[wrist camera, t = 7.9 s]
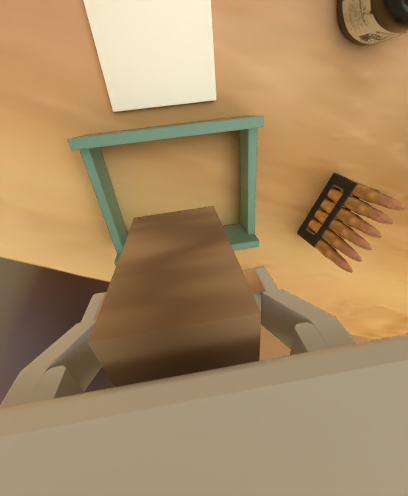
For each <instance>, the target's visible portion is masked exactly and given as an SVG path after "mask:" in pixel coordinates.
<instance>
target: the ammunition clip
mask: <svg viewBox="0 0 408 496" xmlns="http://www.w3.org/2000/svg"><path fill="white" fill-rule="evenodd" d="M341 190H342V191H344V192H342V191H341ZM350 194H351V195H353V196H351V195H350ZM359 198H360V199H363V200H365V201H367V202H371V203H375V204H378V205H381V206H383V207H386V208H390V209H395V210H404V209H405V207H404V206H403V205H402V204H401V203H400V202H398V201H397V200H395V199H393V198H391V197H389V196H387V195H385V194H383V193H381V192H380V191H378V190H376V189H373V188H371V187H368V186H366V185H363V184H360V183H358V182H355V181H352V180H350V179H348V178H345V177H343V176H341V175H339V174H336V173H334V174H333V175H332V177H331V179H330V180H329V182H328V184H327V185H326V187H325V188H324V190H323V192H322V193H321V195H320V197H319V198H318V200H317V201H316V203H315V205H314V206H313V208H312V209H311V211H310V213H309V214H308V216H307V218H306V219H305V221H304V222H303V224H302V226H301V227H300V229H299V231H298V232H297V233H298V235H300V236H301V237H302V238H303V239H305V240H306V241H307V242H308V243H309V244H311V245H312V246H313V247H316V248H317V249H318V250H319V251H320V252H321V253H322V254H323V255H324V256H325V257H327V258H328V259H330V260H331V261H333V262H334V263H335V264H336V265H338V266H339V267H340V268H342V269H344V270H345V271H348V272H351V273H352V272H353V270H352V268H351V266H350V265H349V264H348V262H347V261H346V260H345V259H344V258H343V257H342V256H341V255H340V254H339V253H338V252H337V251H336V249H338V250H339V251H341V252H342V253H344V254H345V255H346V256H348V257H350V258H351V259H353V260H356V261H360V262H361V261H362V259H361V257H360V256H359V254H358V253H357V252H356V251H355V250H354V249H353V248H352V247H350V246H349V245H348V244H347V243H346V242H345V241H344V239H342V238H345V239H347V240H349V241H350V242H352V243H354V244H355V245H357V246H359V247H361V248H363V249H367V250H371V246H370V245H369V243H368V242H367V241H366V240H365V239H364V238H362V237H361V236H359V235H358V234H357V233H356V232H354V231H353V229H352V228H350V227H349V226H351V227H353V228H356V229H358V230H360V231H362V232H364V233H365V234H368V235H370V236H373V237H378V238H381V237H382V235H381V234H380V232H379V231H378V230H377V229H376V228H374V227H373V226H372V225H370V224H369V223H367V222H366V221H364V220H363V219H362V218H361V217H359V216H358V215H356V214H354V213H353V212H355V213H357V214H359V215H362V216H366V217H368V218H370V219H372V220H375V221H377V222H380V223H384V224H393V222H392V220H391V219H390V218H389V217H388V216H387V215H385V214H384V213H382V212H381V211H379V210H377V209H375V208H373V207H372V206H371V205H369V204H368V203H366V202H364V201H362V200H360V199H359ZM335 202H336V203H335ZM342 206H344V207H345V208H344V207H342ZM351 211H353V212H351ZM327 212H328V213H327ZM335 217H336V218H338V219H336V218H335ZM343 222H344V223H346V224H347V225H349V226H347V225H346V224H344V223H343ZM322 223H323V224H322ZM329 228H330V229H329ZM336 233H337V234H338V235H339V236H338V235H337V234H336ZM340 236H341V237H342V238H341V237H340ZM328 243H329V244H328ZM332 246H333V247H334V248H336V249H334V248H333V247H332Z"/></svg>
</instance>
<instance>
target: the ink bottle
mask: <svg viewBox="0 0 408 496" xmlns="http://www.w3.org/2000/svg"><path fill="white" fill-rule="evenodd" d="M338 17H339V23H340V26H341V29H342V31H343V32H344V34H345V35H346V36H347V38H349V39H350V40H351V41H353V42H354V43H357V44H361V45H371V44H375V43H378V42H381V41H384V40H387V39H390V38H393V37H396V36H398V35H401V34H404V33H407V32H408V0H338Z"/></svg>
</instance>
